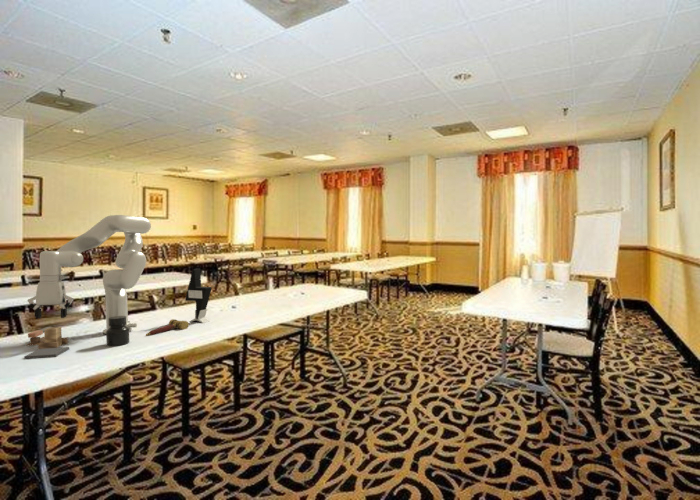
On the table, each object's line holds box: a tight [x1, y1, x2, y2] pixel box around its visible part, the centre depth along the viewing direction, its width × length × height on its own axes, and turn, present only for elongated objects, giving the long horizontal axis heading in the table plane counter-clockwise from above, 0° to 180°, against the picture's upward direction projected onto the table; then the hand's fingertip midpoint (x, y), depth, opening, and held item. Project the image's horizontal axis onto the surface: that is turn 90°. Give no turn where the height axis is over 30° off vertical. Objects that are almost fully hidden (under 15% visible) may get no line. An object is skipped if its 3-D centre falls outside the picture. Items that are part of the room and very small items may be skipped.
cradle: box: [37, 337, 69, 350], centre depth 173 cm, size 7×10×2 cm
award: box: [184, 268, 212, 324], centre depth 221 cm, size 15×5×30 cm, turn 68°
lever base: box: [25, 336, 45, 347], centre depth 183 cm, size 5×18×4 cm, turn 12°
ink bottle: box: [105, 316, 130, 347], centre depth 176 cm, size 10×9×12 cm
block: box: [43, 326, 63, 347], centre depth 173 cm, size 4×4×8 cm
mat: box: [23, 346, 70, 360], centre depth 161 cm, size 11×11×1 cm
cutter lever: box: [27, 326, 51, 339], centre depth 181 cm, size 3×15×2 cm, turn 12°
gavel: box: [145, 318, 190, 337], centre depth 198 cm, size 21×5×10 cm
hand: (51, 317), depth 172 cm, fingers open, 9 cm apart
